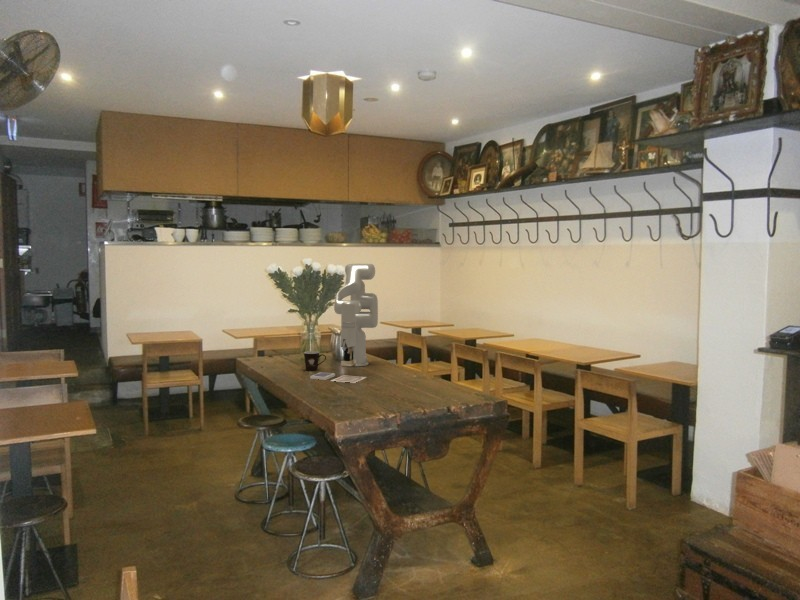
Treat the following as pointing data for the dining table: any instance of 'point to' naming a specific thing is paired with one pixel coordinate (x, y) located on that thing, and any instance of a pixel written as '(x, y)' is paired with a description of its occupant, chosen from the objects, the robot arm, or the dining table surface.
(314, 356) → the coffee mug
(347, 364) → the stamp
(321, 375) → the ink pad
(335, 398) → the dining table surface
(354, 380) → the paper sheet
